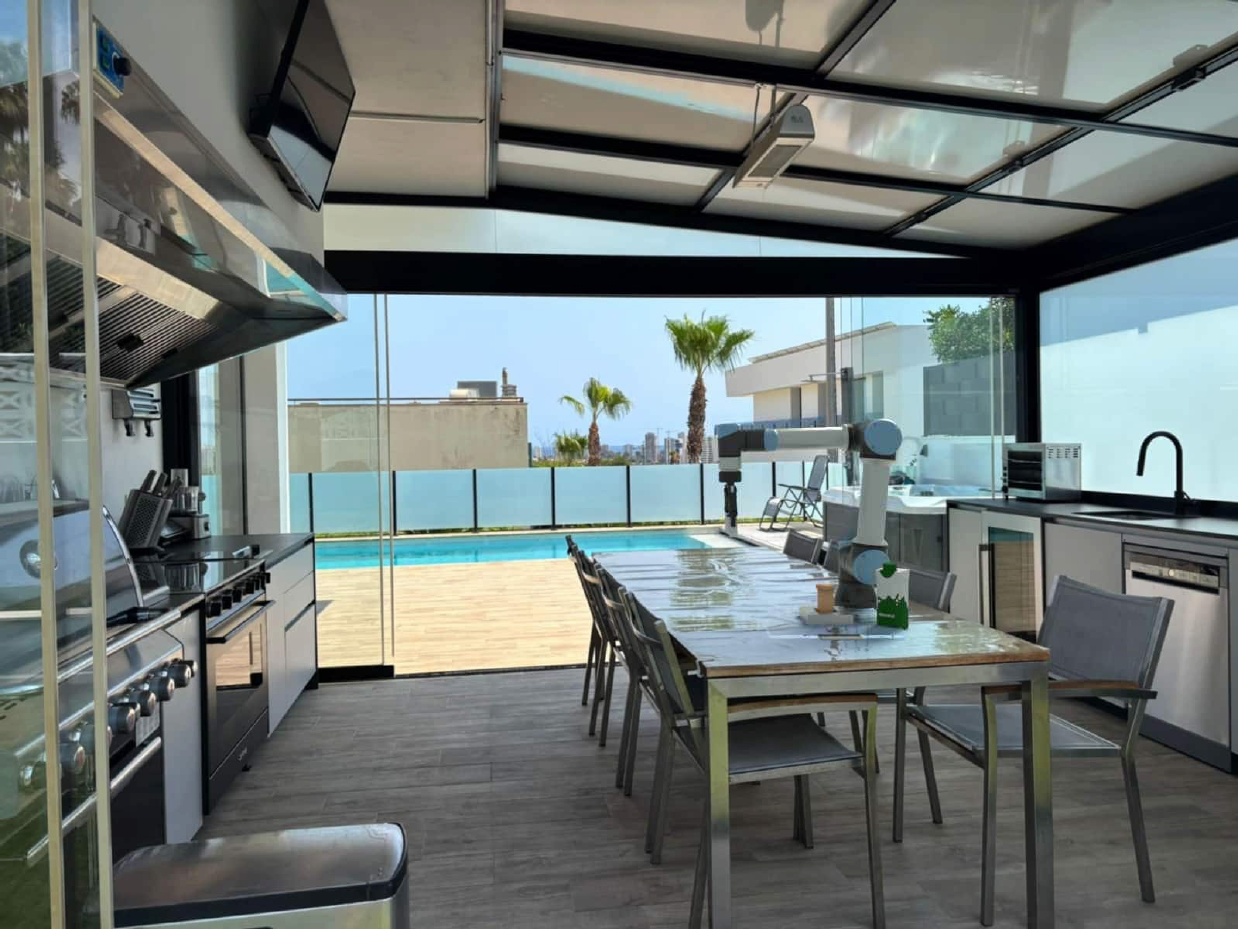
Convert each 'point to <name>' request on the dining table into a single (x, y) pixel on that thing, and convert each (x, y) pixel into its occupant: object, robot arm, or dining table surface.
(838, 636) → the mat
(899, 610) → the milk carton
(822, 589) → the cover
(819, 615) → the housing
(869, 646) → the dining table surface
